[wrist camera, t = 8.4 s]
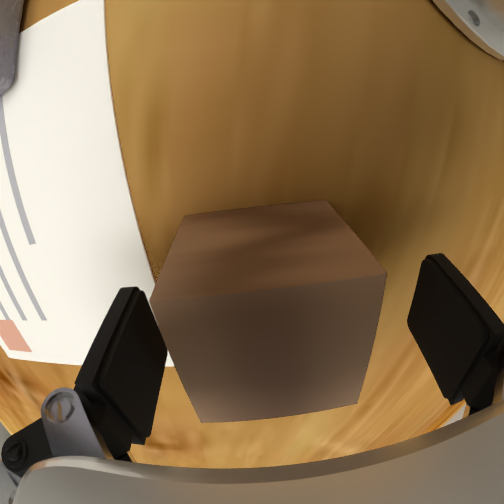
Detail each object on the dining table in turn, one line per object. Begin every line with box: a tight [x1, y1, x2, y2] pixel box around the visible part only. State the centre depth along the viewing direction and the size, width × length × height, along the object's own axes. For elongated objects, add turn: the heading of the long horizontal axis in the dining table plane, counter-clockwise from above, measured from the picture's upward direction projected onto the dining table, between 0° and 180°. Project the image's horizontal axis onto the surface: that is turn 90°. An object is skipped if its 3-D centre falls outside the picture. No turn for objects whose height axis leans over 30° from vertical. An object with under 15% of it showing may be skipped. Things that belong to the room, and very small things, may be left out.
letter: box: [0, 0, 174, 366], centre depth 12 cm, size 16×20×1 cm
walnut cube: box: [149, 200, 387, 423], centre depth 11 cm, size 6×6×6 cm
